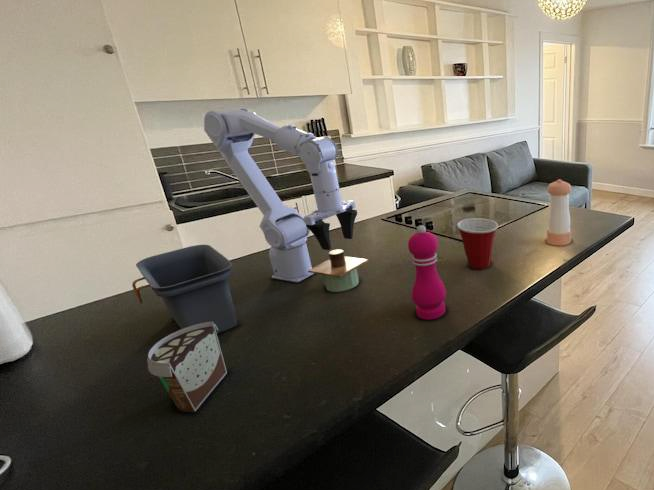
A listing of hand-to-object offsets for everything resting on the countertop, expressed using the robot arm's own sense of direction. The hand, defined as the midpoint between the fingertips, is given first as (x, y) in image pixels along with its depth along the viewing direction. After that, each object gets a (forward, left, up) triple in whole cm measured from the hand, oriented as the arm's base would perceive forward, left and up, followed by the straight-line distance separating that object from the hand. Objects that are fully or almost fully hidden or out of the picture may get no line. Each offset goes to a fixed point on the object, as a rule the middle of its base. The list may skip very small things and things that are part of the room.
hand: (337, 243), depth 102 cm
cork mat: (+1, -2, -5) cm, 6 cm away
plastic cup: (+30, +19, -11) cm, 37 cm away
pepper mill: (+30, -7, -11) cm, 32 cm away
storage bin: (-16, -27, -11) cm, 33 cm away
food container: (+5, -42, -11) cm, 43 cm away
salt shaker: (+46, +42, -11) cm, 63 cm away
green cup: (+1, -2, -10) cm, 11 cm away
